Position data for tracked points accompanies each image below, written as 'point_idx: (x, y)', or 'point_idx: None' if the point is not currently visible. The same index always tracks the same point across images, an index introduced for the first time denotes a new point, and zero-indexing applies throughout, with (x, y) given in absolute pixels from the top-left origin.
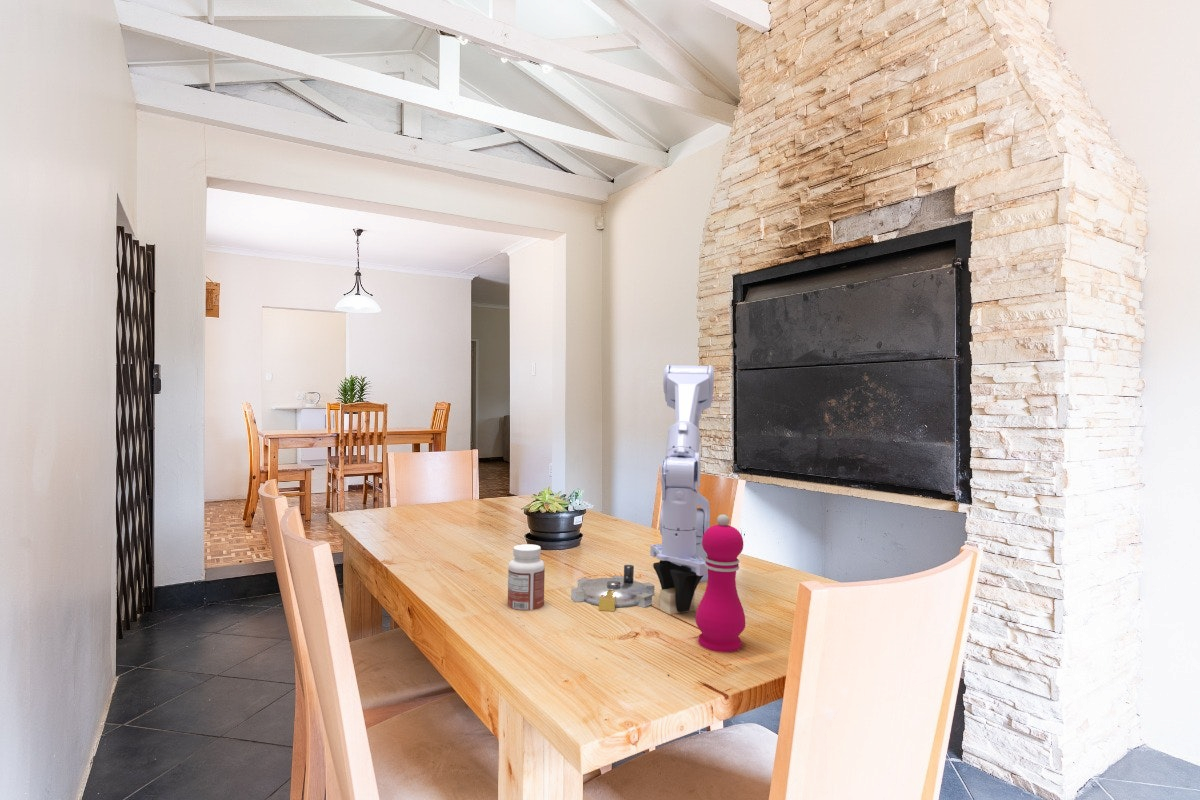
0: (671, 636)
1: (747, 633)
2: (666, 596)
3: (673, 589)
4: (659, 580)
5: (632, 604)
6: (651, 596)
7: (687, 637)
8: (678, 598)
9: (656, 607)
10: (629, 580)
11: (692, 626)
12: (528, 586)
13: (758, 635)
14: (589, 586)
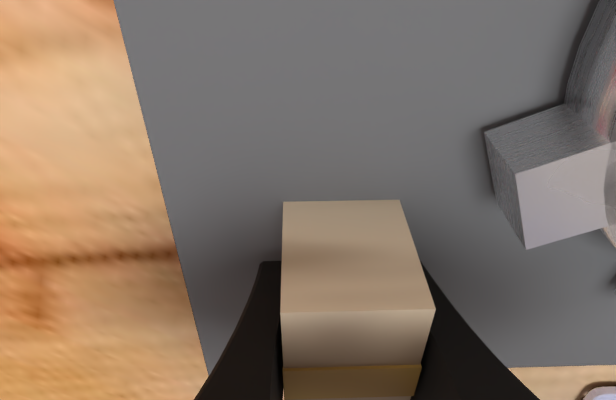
0: (35, 58)
1: (54, 363)
2: (333, 287)
3: (381, 374)
4: (520, 384)
5: (580, 71)
6: (520, 237)
7: (12, 140)
8: (237, 326)
9: None
10: None
11: None
12: None
13: (28, 379)
14: None
